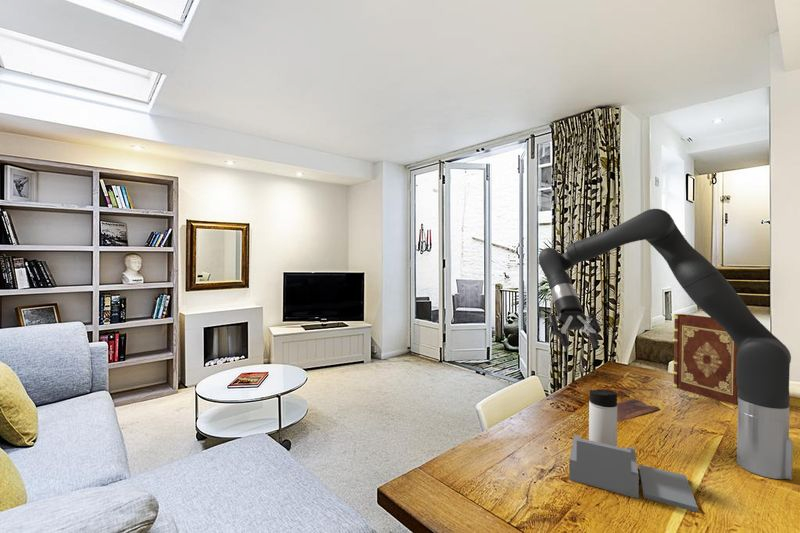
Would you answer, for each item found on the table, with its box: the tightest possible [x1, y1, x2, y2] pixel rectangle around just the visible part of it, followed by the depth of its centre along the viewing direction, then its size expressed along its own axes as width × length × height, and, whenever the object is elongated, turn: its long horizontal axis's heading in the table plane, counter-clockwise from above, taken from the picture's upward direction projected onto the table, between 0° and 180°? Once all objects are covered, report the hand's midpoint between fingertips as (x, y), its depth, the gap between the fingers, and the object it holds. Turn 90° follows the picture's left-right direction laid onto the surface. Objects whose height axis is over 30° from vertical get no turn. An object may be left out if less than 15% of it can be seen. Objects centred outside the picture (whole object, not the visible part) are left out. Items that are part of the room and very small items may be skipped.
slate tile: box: [638, 464, 699, 513], centre depth 84 cm, size 10×13×1 cm
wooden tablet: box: [617, 398, 660, 423], centre depth 127 cm, size 26×2×10 cm
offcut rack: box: [568, 434, 640, 500], centre depth 90 cm, size 14×14×10 cm
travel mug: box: [588, 388, 618, 447], centre depth 93 cm, size 6×7×20 cm
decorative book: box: [672, 313, 739, 406], centre depth 143 cm, size 22×8×30 cm, turn 25°
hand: (581, 346), depth 108 cm, fingers open, 8 cm apart
